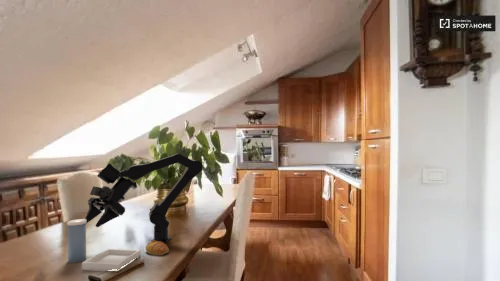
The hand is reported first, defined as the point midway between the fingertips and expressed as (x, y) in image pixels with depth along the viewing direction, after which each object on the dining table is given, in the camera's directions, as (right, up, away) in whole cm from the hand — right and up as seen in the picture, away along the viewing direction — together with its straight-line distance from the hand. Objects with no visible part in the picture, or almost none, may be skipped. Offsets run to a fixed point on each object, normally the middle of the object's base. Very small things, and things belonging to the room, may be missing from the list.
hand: (90, 224), depth 107 cm
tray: (+12, -11, -8) cm, 18 cm away
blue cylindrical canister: (-2, -11, -4) cm, 12 cm away
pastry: (+24, -11, +2) cm, 27 cm away
